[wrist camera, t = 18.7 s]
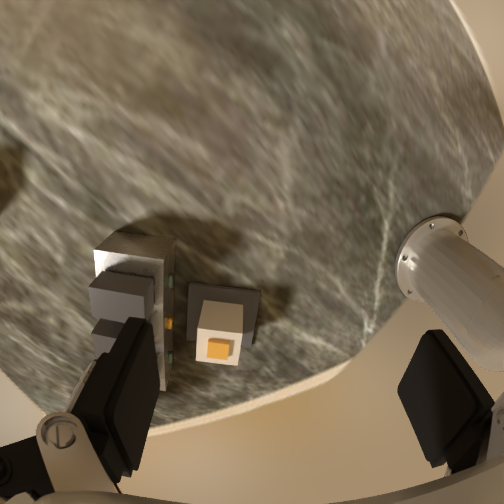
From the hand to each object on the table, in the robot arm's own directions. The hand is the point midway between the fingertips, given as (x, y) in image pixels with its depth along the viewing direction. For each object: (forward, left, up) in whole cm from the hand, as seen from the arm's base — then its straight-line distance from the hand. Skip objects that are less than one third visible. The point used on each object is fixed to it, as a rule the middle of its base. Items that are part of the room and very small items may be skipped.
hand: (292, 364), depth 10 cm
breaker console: (+13, +17, -27) cm, 34 cm away
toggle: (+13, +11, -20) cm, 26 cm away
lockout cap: (+3, +17, -26) cm, 31 cm away
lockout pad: (+3, +17, -27) cm, 31 cm away
